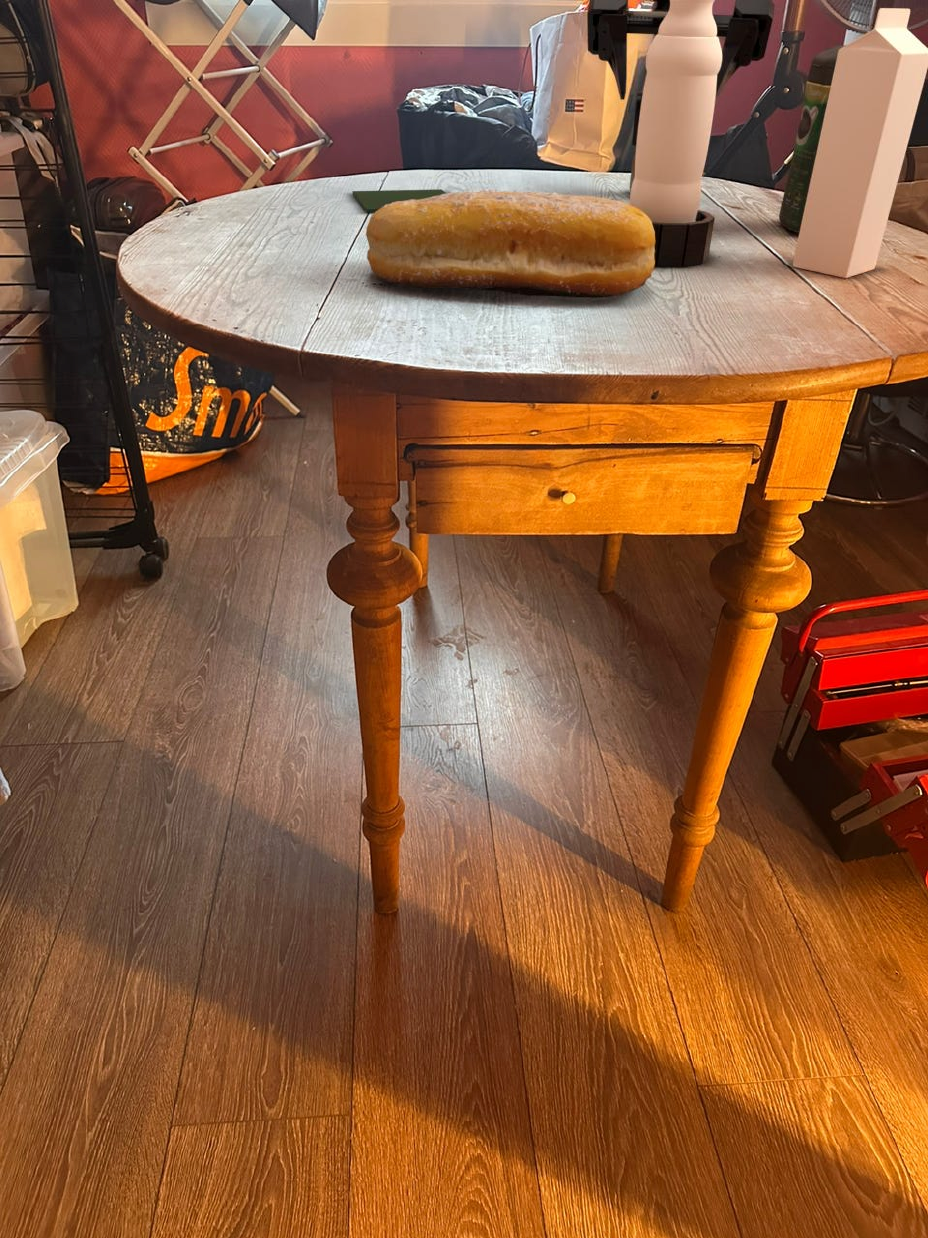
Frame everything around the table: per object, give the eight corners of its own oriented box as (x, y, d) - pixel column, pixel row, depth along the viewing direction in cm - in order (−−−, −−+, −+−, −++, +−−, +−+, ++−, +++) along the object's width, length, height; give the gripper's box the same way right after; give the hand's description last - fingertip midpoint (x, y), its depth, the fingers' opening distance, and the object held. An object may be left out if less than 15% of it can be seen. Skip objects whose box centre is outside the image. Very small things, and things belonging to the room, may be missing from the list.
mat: (441, 192, 123) (441, 189, 123) (462, 210, 113) (463, 206, 113) (352, 194, 121) (352, 190, 120) (366, 212, 111) (366, 209, 111)
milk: (874, 269, 93) (945, 9, 81) (845, 279, 90) (914, 8, 77) (820, 257, 97) (880, 7, 85) (790, 266, 94) (847, 6, 81)
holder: (691, 243, 101) (698, 204, 99) (719, 267, 93) (726, 224, 90) (600, 243, 100) (604, 203, 98) (619, 266, 92) (624, 223, 90)
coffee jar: (861, 240, 105) (910, 48, 94) (791, 237, 105) (832, 45, 94) (835, 222, 113) (877, 43, 102) (770, 220, 113) (806, 41, 102)
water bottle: (691, 265, 93) (739, -39, 79) (621, 260, 94) (655, -41, 80) (691, 249, 99) (735, -37, 85) (625, 244, 100) (658, -38, 86)
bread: (656, 311, 79) (670, 212, 75) (353, 296, 81) (348, 198, 76) (647, 272, 90) (658, 183, 86) (380, 260, 92) (377, 172, 87)
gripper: (598, -106, 91) (575, 34, 89) (793, -104, 88) (774, 42, 86) (598, -13, 102) (577, 114, 100) (772, -8, 99) (754, 123, 97)
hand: (667, 98), depth 95 cm, fingers open, 9 cm apart
